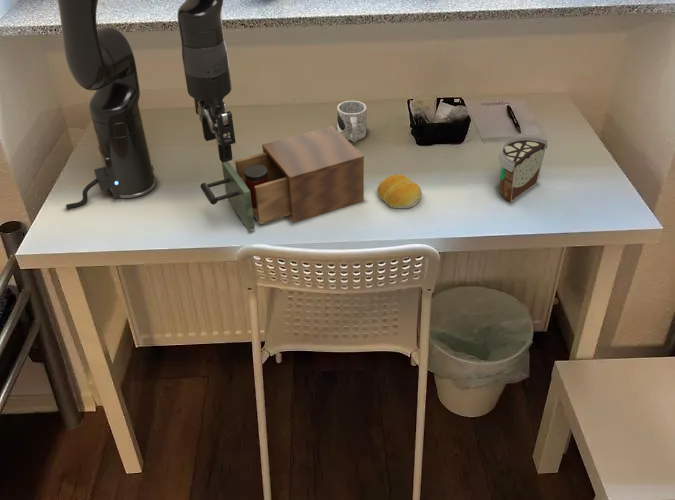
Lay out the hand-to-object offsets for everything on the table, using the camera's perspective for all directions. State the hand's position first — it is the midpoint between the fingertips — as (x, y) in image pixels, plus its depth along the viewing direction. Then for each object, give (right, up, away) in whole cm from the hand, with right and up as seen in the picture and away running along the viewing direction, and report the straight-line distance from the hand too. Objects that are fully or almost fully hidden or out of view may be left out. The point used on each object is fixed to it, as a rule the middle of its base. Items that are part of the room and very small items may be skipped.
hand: (218, 149), depth 128 cm
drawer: (+6, -10, +12) cm, 16 cm away
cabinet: (+17, -7, +16) cm, 24 cm away
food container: (+57, -6, +17) cm, 60 cm away
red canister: (+6, -9, +11) cm, 15 cm away
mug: (+25, +8, +34) cm, 43 cm away
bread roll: (+34, -8, +15) cm, 38 cm away
